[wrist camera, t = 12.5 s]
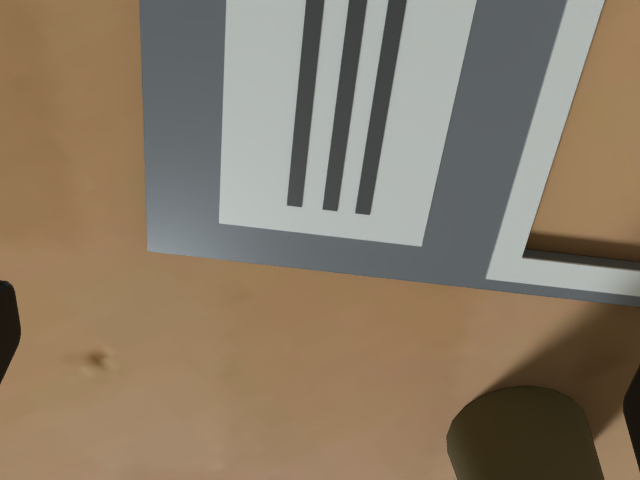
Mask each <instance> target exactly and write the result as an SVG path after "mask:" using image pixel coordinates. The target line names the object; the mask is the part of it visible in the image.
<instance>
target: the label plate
mask: <svg viewBox="0 0 640 480" xmlns="http://www.w3.org/2000/svg"><path fill="white" fill-rule="evenodd" d="M604 1H605V0H140V29H141V60H142V91H143V122H144V153H145V184H146V215H147V246H148V251H150V252H159V253H168V254H176V255H185V256H194V257H203V258H212V259H220V260H229V261H238V262H247V263H256V264H264V265H273V266H282V267H291V268H300V269H309V270H317V271H326V272H335V273H344V274H353V275H361V276H370V277H379V278H388V279H397V280H405V281H414V282H423V283H432V284H441V285H449V286H458V287H467V288H476V289H485V290H493V291H502V292H511V293H520V294H529V295H538V296H546V297H555V298H564V299H573V300H582V301H590V302H599V303H608V304H617V305H626V306H634V307H640V262H633V261H624V260H615V259H607V258H598V257H589V256H581V255H572V254H563V253H555V252H546V251H537V250H529V249H525V246H526V243H527V240H528V237H529V234H530V230H531V227H532V224H533V221H534V218H535V215H536V212H537V209H538V206H539V202H540V199H541V196H542V193H543V190H544V187H545V184H546V181H547V178H548V175H549V171H550V168H551V165H552V162H553V159H554V156H555V153H556V150H557V147H558V143H559V140H560V137H561V134H562V131H563V128H564V125H565V122H566V119H567V116H568V112H569V109H570V106H571V103H572V100H573V97H574V94H575V91H576V88H577V84H578V81H579V78H580V75H581V72H582V69H583V66H584V63H585V60H586V57H587V53H588V50H589V47H590V44H591V41H592V38H593V35H594V32H595V29H596V25H597V22H598V19H599V16H600V13H601V10H602V7H603V4H604Z"/></svg>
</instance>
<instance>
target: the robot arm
mask: <svg viewBox="0 0 640 480" xmlns="http://www.w3.org/2000/svg"><path fill="white" fill-rule="evenodd" d="M20 336H21V326H20V320H19V313H18V307H17V301H16V295H15V290H14V288H13V286H12V284H11V283H9V282H8V281H1V280H0V384H1V382H2V379H3V377H4V375H5V373H6V371H7V369H8V366H9V364H10V362H11V360H12V358H13V356H14V354H15V351H16V349H17V347H18V344H19V341H20ZM623 412H624V417H625V420H626V424H627V427H628V431H629V435H630V438H631V442H632V445H633V449H634V453H635V456H636V460H637V464H638V467H639V471H640V365H639V367H638V369H637V371H636V373H635V375H634V378H633V380H632V382H631V384H630V386H629V388H628V390H627V392H626V394H625V397H624V401H623Z"/></svg>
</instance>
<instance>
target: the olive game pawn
mask: <svg viewBox="0 0 640 480" xmlns="http://www.w3.org/2000/svg"><path fill="white" fill-rule="evenodd" d="M446 438H447V452H448V455H449V458H450V460H451V463H452V466H453V469H454V471H455V474H456V477H457V480H604V476H603V473H602V469H601V466H600V463H599V459H598V456H597V452H596V449H595V445H594V442H593V438H592V435H591V431H590V428H589V425H588V422H587V420H586V417H585V414H584V412H583V410H582V409H581V408H580V407H579V406H578V405H577V404H576V403H575V402H574V401H573V400H572V399H571V398H569V397H567V396H565V395H563V394H560V393H558V392H556V391H554V390H552V389H545V388H539V387H533V386H523V387H511V388H504V389H501V390H498V391H495V392H492V393H489V394H486V395H483V396H481V397H480V398H478V399H477V400H475V401H473V402H472V403H470V404H469V405H467V406H465V407H464V408H463V410H462V411H461V412H460V413H459V414H458V415H457V416H456V418H455V419H454V420H453V421H452V423H451V426H450V429H449V431H448V434H447V437H446Z"/></svg>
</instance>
